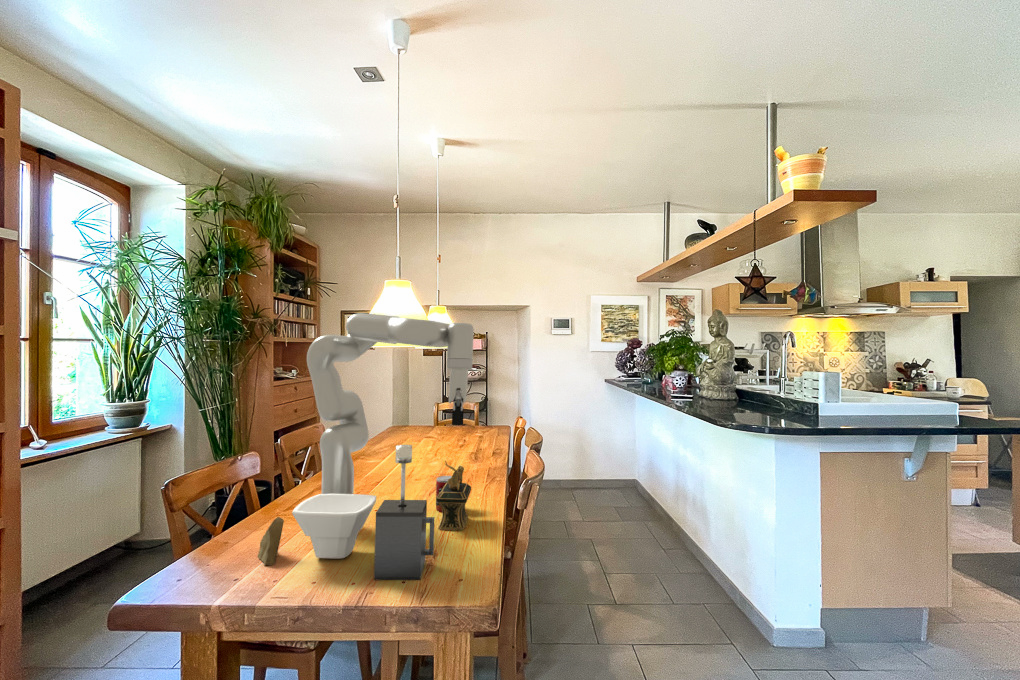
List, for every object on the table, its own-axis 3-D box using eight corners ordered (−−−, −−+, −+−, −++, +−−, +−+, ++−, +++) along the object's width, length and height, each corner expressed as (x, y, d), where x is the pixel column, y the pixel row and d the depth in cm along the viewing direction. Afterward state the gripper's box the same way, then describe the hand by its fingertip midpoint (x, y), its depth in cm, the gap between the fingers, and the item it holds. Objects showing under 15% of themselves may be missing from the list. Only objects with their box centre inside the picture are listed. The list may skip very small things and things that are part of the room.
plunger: (380, 534, 125) (382, 448, 125) (387, 522, 134) (389, 442, 134) (417, 534, 125) (419, 449, 126) (422, 522, 134) (424, 443, 135)
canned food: (431, 511, 179) (432, 479, 179) (443, 505, 186) (443, 474, 187) (451, 514, 176) (451, 481, 177) (461, 508, 184) (462, 476, 184)
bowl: (313, 541, 148) (315, 492, 148) (380, 543, 147) (382, 494, 147) (283, 568, 129) (284, 512, 129) (359, 570, 128) (361, 514, 129)
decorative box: (442, 515, 175) (443, 456, 175) (470, 516, 174) (472, 457, 175) (432, 535, 155) (433, 469, 155) (464, 536, 154) (465, 470, 155)
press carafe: (374, 580, 123) (375, 512, 124) (382, 561, 134) (384, 499, 135) (430, 579, 124) (432, 512, 124) (434, 561, 135) (436, 500, 135)
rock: (283, 557, 130) (300, 538, 140) (262, 531, 129) (280, 514, 139) (250, 581, 131) (269, 560, 141) (229, 555, 130) (249, 536, 140)
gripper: (447, 363, 160) (445, 418, 160) (445, 364, 143) (443, 426, 143) (471, 364, 161) (469, 419, 161) (473, 365, 144) (470, 427, 143)
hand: (457, 422), depth 152 cm, fingers open, 9 cm apart
